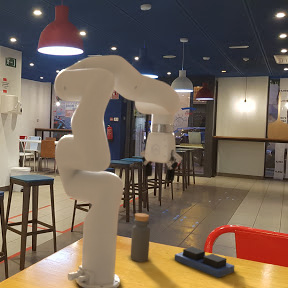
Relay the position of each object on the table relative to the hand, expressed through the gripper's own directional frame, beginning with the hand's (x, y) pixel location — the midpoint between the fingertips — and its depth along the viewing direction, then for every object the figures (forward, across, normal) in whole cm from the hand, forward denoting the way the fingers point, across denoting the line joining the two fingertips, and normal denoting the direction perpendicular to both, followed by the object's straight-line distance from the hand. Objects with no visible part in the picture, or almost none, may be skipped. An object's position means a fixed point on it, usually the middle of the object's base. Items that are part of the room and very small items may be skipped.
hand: (158, 178), depth 132 cm
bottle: (+26, +2, -10) cm, 28 cm away
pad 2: (+26, +21, +4) cm, 34 cm away
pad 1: (+26, +13, +4) cm, 30 cm away
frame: (+26, +17, +4) cm, 32 cm away
